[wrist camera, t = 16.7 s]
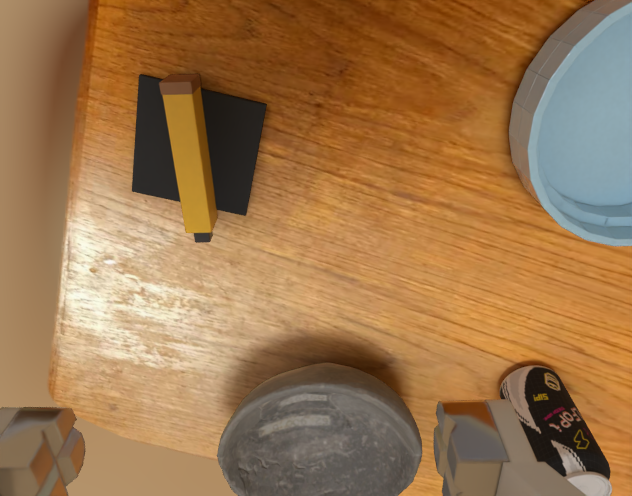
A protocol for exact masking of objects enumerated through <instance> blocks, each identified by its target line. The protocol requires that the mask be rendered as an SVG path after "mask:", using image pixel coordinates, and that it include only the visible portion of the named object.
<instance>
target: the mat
mask: <svg viewBox="0 0 632 496" xmlns="http://www.w3.org/2000/svg"><path fill="white" fill-rule="evenodd" d="M162 80H163V79H159V78H155V77H151V76H147V75H142V74H141V75H139V87H138V103H137V119H136V134H135V150H134V166H133V182H132V192H137V193H142V194H146V195H151V196H156V197H160V198H165V199H170V200H174V201H179V202H181V201H180V195H179V189H178V184H177V178H176V172H175V166H174V160H173V154H172V148H171V142H170V136H169V130H168V124H167V118H166V112H165V106H164V100H163V95H161V91H160V85H159V82H161V81H162ZM201 96H202V103H203V111H204V118H205V126H206V134H207V141H208V149H209V156H210V164H211V171H212V179H213V186H214V194H215V202H216V209H217V210H221V211H226V212H230V213H235V214H240V215H244V216H246V213H247V207H248V202H249V197H250V191H251V186H252V181H253V175H254V170H255V164H256V159H257V154H258V148H259V143H260V138H261V132H262V127H263V121H264V116H265V111H266V105H267V104H264V103H260V102H256V101H252V100H248V99H243V98H239V97H235V96H231V95H226V94H222V93H218V92H214V91H210V90H205V89H201Z"/></svg>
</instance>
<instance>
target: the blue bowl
mask: <svg viewBox="0 0 632 496" xmlns="http://www.w3.org/2000/svg"><path fill="white" fill-rule="evenodd" d="M509 141H510V149H511V157H512V162H513V164H514V167H515V169H516V171H517V173H518V175H519V178H520V180H521V182H522V184H523V186H524V187H525V188H526V189H527V190H528V191H529V193H530V194H531V195H532V196H533V197H534V198H535V199H536V200H537V201H538V203H539V204H540V205H541V206H542V207H543V208H544V209H545V210H546V211H547V212H548V213H549V215H550V216H551V217H552V218H553V219H554V220H555V221H556V222H557V223H558V224H559V225H560V226H561V227H563V228H564V229H566V230H568V231H570V232H572V233H574V234H575V235H577V236H579V237H581V238H583V239H585V240H588V241H592V242H597V243H601V244H606V245H610V246H632V0H595V1H593V2H591V3H590V4H588V5H586V6H584V7H583V8H581V9H580V10H578V11H577V12H576V13H575V14H574V15H573V16H571V17H570V18H569V19H568V20H567V21H566V22H565V23H564V24H563V25H562V26H561V27H559V28H558V29H557V30H556V31H555V32H554V33H553V34H552V35H551V36H550V37H549V38H548V40H547V41H546V42H545V44H544V45H543V47H542V48H541V49H540V51H539V52H538V54H537V55H536V57H535V58H534V59H533V61H532V62H531V64H530V65H529V66H528V69H527V70H526V72H525V74H524V77H523V79H522V82H521V84H520V86H519V89H518V91H517V94H516V96H515V98H514V101H513V107H512V113H511V120H510V126H509Z"/></svg>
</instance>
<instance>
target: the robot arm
mask: <svg viewBox="0 0 632 496" xmlns="http://www.w3.org/2000/svg"><path fill="white" fill-rule="evenodd" d="M436 415H437V419H438V423H439V424H438V425H437V426H436V427H435V428H434V455H435V461H436V466H437V471H438V473H439V474H440V475H441V476H442V477H443V478H444V480H443V488H442V493H443V496H587V495H585V494H584V493H583V492H582V491H580V490H579V489H578V488H577V487H575V486H574V485H573V484H572V483H570V482H569V481H568V480H567V479H565V478H564V477H563V476H562V475H560V474H559V473H558V472H557V471H555V470H554V469H553V468H552V467H550V466H549V465H548V464H547V463H546V462H537V459H536V457H535V455H534V452H533V450H532V448H531V446H530V443H529V441H528V439H527V437H526V434H525V432H524V430H523V428H522V425H521V423H520V421H519V418H518V416H517V414H516V412H515V409H514V407H513V405H512V403H511V402H510V401H509V400H508V399H500V400H459V401H439V402H438V405H437V411H436ZM76 420H77V419H76V417H75V414H74V412H73V410H72V409H71V408H57V407H52V408H51V407H23V408H16V407H5V408H4V407H2V408H0V496H68V492H67V489H66V486H67V485H68V484H69V483H71V482H72V481H73V480H74V479H75V478H77V477H78V474H79V472H80V470H81V468H82V466H83V461H84V456H85V442H84V439H83V436H82V433H81V432H79V431H78V430H77V429H75V428H74V427H73V425H74V423H75V421H76Z"/></svg>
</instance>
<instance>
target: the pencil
mask: <svg viewBox="0 0 632 496" xmlns="http://www.w3.org/2000/svg"><path fill="white" fill-rule="evenodd" d="M159 85H160V91H161V95H163V100H164V106H165V112H166V118H167V124H168V130H169V136H170V142H171V148H172V154H173V160H174V166H175V172H176V178H177V184H178V189H179V195H180V201H181V207H182V213H183V219H184V225H185V231H186V233H194V237H195V242H210V241H211V238H212V236H213V232H212V230H213V228H214V225H215V223H216V220H217V218H218V217H217V209H216V202H215V194H214V186H213V179H212V171H211V164H210V156H209V149H208V141H207V134H206V126H205V118H204V111H203V103H202V96H201V88H200V86H201V82H200V75H199V74H179V75H169V76H168V77H166V78H165V79H164V80H162V81H161V82H159Z"/></svg>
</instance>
